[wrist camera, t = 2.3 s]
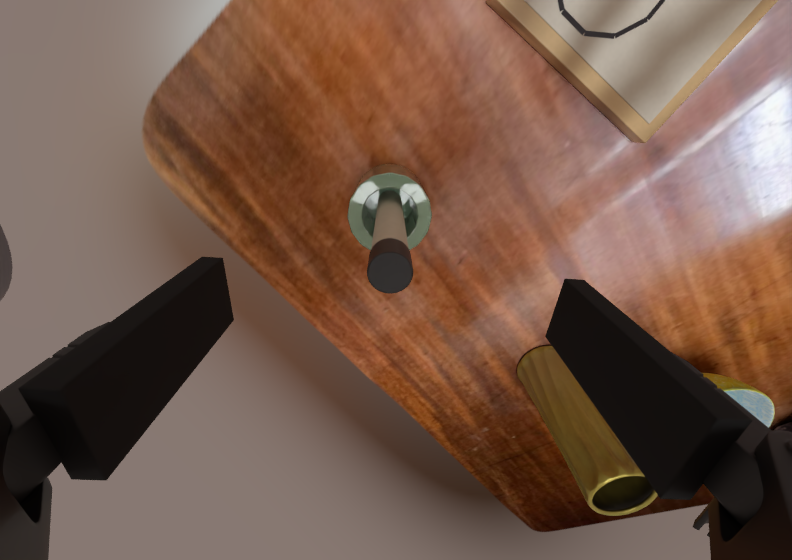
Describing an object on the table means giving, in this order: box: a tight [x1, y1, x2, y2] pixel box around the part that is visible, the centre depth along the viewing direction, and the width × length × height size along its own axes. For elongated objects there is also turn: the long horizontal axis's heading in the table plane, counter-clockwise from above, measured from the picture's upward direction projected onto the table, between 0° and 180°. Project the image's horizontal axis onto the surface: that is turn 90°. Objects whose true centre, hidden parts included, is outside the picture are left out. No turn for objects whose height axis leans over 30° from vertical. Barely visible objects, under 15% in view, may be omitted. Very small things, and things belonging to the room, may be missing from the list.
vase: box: [517, 346, 658, 516], centre depth 31 cm, size 6×6×14 cm
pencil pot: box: [348, 164, 432, 250], centre depth 26 cm, size 6×6×6 cm
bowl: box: [702, 373, 775, 428], centre depth 36 cm, size 11×12×6 cm
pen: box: [367, 191, 413, 293], centre depth 21 cm, size 2×2×15 cm
